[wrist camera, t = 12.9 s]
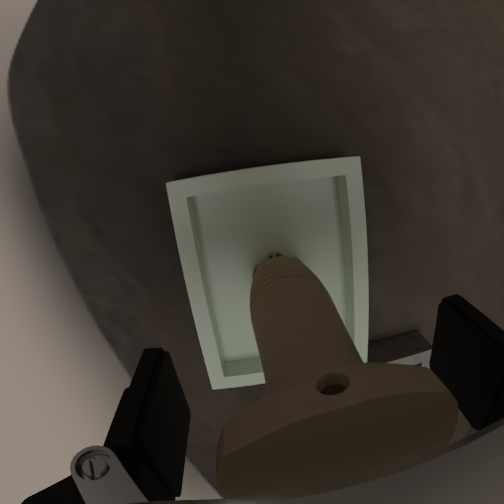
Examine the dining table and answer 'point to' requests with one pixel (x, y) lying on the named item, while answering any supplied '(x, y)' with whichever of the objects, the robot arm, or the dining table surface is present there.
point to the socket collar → (401, 350)
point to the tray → (268, 250)
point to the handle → (323, 397)
